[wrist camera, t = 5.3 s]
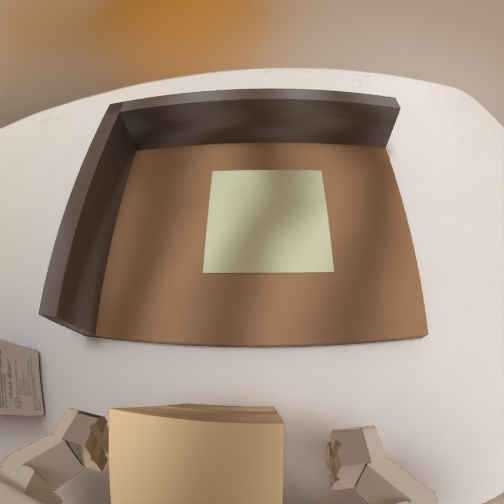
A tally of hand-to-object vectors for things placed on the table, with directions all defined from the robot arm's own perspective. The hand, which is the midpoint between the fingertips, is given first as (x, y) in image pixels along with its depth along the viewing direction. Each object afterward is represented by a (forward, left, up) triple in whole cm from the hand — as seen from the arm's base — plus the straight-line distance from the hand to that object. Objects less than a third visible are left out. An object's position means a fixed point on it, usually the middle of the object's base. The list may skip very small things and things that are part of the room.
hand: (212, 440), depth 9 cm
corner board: (+1, +12, -6) cm, 13 cm away
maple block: (0, -1, -6) cm, 6 cm away
